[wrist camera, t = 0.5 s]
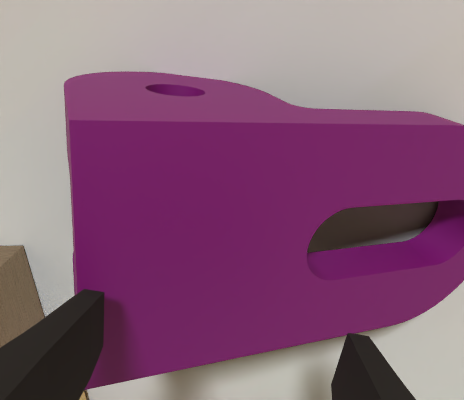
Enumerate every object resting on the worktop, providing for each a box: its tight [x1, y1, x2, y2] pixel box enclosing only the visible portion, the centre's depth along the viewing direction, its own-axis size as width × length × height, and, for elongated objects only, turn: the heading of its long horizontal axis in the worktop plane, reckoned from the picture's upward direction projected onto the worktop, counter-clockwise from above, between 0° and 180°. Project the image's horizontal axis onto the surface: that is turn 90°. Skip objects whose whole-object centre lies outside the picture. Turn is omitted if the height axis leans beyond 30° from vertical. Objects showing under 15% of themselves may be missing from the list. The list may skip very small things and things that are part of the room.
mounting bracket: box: [64, 72, 464, 390], centre depth 19 cm, size 9×8×18 cm
